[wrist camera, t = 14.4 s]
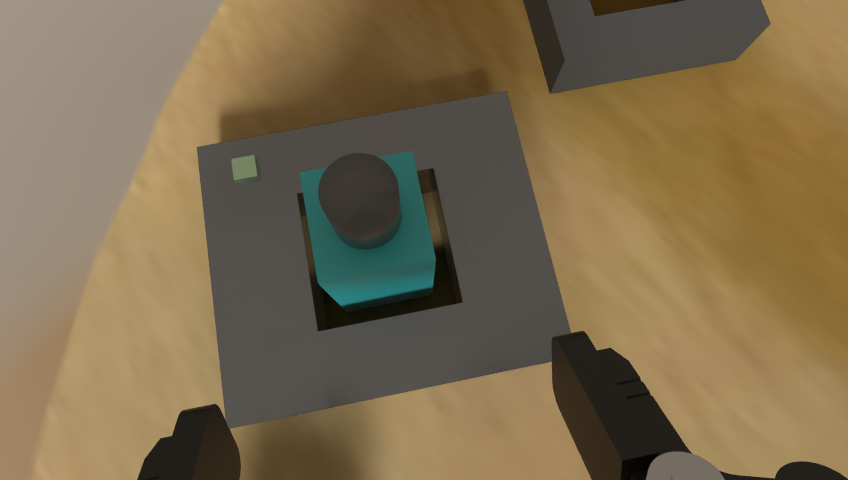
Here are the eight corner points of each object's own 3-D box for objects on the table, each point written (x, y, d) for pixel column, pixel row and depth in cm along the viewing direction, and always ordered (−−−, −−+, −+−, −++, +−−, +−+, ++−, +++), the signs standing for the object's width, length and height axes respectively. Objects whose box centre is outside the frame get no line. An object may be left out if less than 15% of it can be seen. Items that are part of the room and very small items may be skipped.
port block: (497, 121, 28) (507, 87, 25) (559, 359, 25) (579, 355, 22) (220, 172, 27) (194, 144, 24) (250, 424, 24) (224, 429, 21)
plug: (414, 214, 27) (410, 118, 17) (431, 294, 26) (438, 240, 16) (333, 230, 27) (282, 142, 17) (347, 312, 26) (302, 268, 16)
